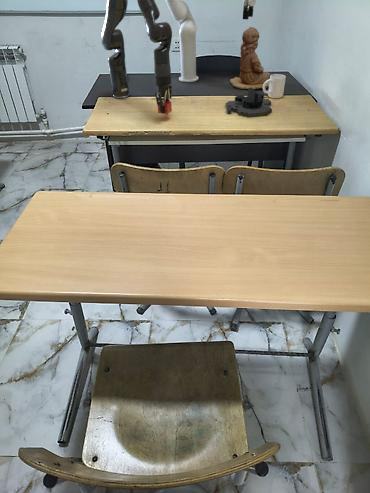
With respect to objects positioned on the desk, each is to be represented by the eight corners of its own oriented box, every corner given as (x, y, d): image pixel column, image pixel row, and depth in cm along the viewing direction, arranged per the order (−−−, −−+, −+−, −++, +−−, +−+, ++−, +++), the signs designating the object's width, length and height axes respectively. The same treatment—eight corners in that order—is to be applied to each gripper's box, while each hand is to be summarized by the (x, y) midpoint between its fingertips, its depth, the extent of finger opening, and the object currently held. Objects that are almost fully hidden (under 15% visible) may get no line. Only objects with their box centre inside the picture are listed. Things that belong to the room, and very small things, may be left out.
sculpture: (274, 90, 207) (281, 30, 187) (232, 91, 207) (235, 31, 188) (266, 76, 228) (272, 21, 208) (228, 77, 228) (231, 23, 209)
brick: (167, 114, 173) (167, 104, 170) (158, 113, 174) (157, 103, 171) (171, 110, 176) (171, 101, 173) (162, 109, 178) (161, 100, 175)
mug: (263, 99, 195) (266, 79, 188) (259, 94, 201) (261, 75, 194) (285, 97, 196) (288, 77, 189) (279, 93, 202) (282, 73, 196)
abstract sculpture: (232, 99, 169) (222, 86, 184) (231, 118, 175) (221, 105, 190) (283, 94, 172) (268, 83, 187) (280, 114, 178) (266, 101, 193)
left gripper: (163, 78, 158) (165, 116, 169) (176, 70, 168) (177, 107, 179) (148, 77, 160) (151, 115, 171) (162, 69, 170) (164, 105, 181)
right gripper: (253, -18, 186) (250, 20, 197) (261, -21, 198) (257, 15, 209) (239, -18, 188) (237, 20, 199) (247, -21, 200) (245, 15, 211)
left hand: (165, 110), depth 175 cm, fingers closed on brick, 5 cm apart
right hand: (247, 17), depth 204 cm, fingers open, 9 cm apart
